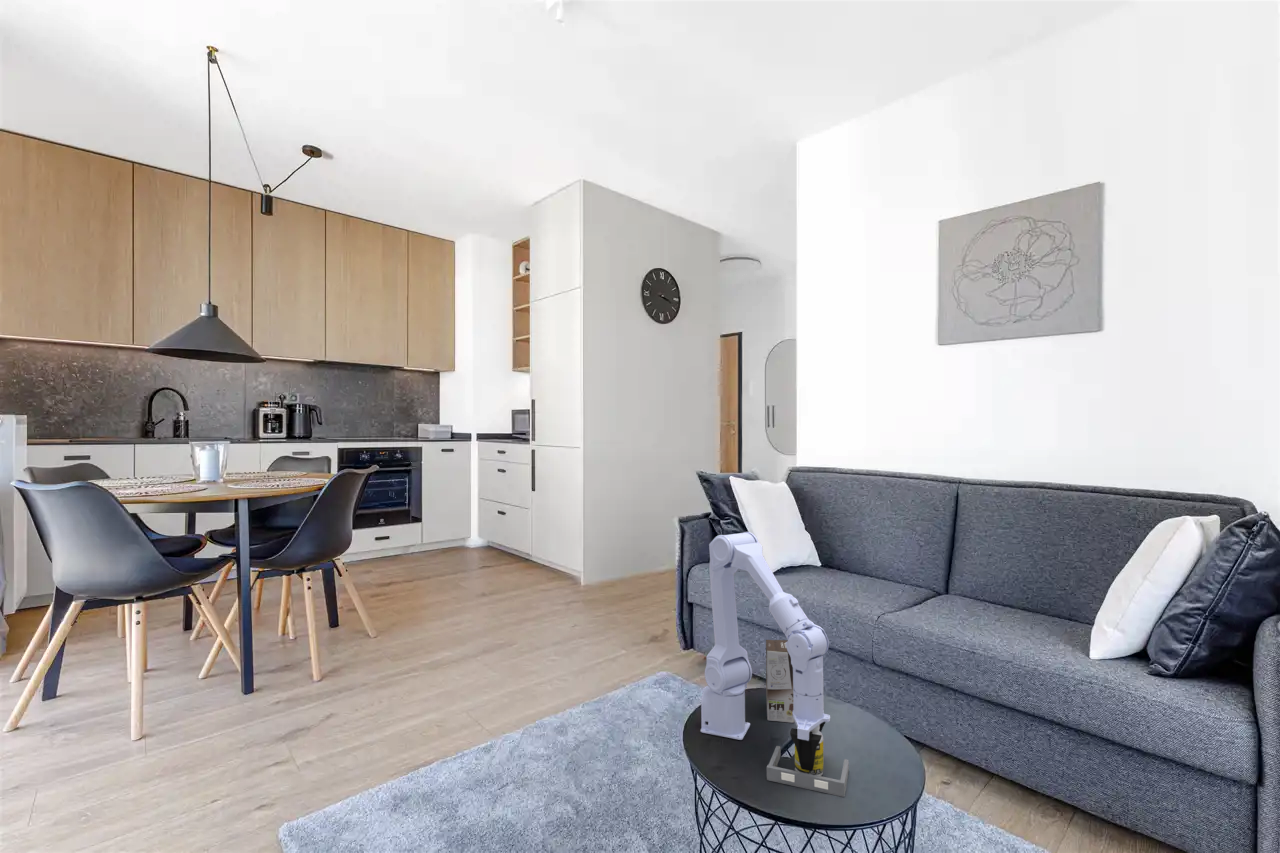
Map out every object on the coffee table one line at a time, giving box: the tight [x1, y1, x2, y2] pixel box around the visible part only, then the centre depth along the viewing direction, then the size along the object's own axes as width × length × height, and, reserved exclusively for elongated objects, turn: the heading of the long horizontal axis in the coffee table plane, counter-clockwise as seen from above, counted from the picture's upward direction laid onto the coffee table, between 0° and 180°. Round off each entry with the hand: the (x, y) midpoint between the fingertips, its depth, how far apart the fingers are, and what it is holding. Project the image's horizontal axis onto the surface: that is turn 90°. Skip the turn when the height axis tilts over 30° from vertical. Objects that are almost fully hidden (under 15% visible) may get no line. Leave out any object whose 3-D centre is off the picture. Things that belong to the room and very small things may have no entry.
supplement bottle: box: [794, 725, 824, 776], centre depth 115 cm, size 5×5×10 cm
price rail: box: [766, 745, 850, 798], centre depth 114 cm, size 14×10×2 cm
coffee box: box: [765, 639, 795, 724], centre depth 141 cm, size 9×6×16 cm
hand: (809, 761), depth 115 cm, fingers open, 5 cm apart
